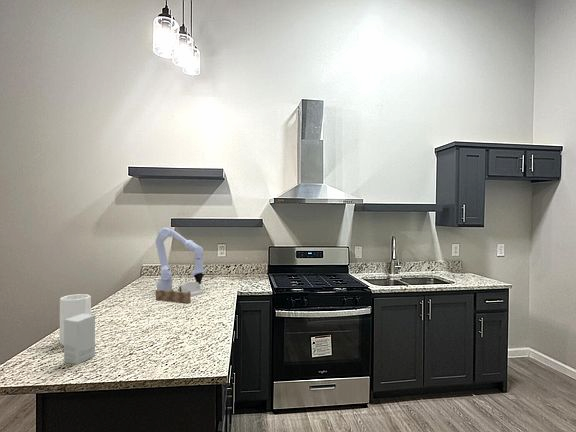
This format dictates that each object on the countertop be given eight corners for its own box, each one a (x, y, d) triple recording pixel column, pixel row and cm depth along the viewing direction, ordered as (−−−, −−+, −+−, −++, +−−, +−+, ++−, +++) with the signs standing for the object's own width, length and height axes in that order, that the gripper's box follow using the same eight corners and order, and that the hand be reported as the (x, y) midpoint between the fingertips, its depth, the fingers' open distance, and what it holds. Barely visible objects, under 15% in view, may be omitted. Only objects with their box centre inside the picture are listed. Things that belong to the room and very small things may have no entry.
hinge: (184, 298, 228) (181, 283, 229) (179, 300, 230) (176, 284, 232) (203, 293, 242) (200, 279, 243) (199, 295, 244) (195, 280, 246)
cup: (57, 347, 142) (57, 301, 142) (62, 338, 152) (62, 295, 152) (89, 344, 147) (89, 298, 147) (91, 335, 157) (92, 293, 157)
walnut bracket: (155, 299, 223) (155, 290, 223) (165, 296, 231) (165, 287, 231) (188, 303, 215) (188, 293, 215) (196, 300, 223) (197, 290, 223)
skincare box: (82, 354, 136) (82, 312, 136) (96, 356, 134) (96, 314, 134) (62, 362, 128) (62, 319, 128) (77, 365, 126) (77, 320, 126)
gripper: (197, 266, 238) (197, 286, 238) (209, 263, 251) (209, 283, 251) (188, 265, 240) (188, 286, 240) (200, 263, 254) (200, 282, 254)
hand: (198, 284), depth 246 cm, fingers closed
